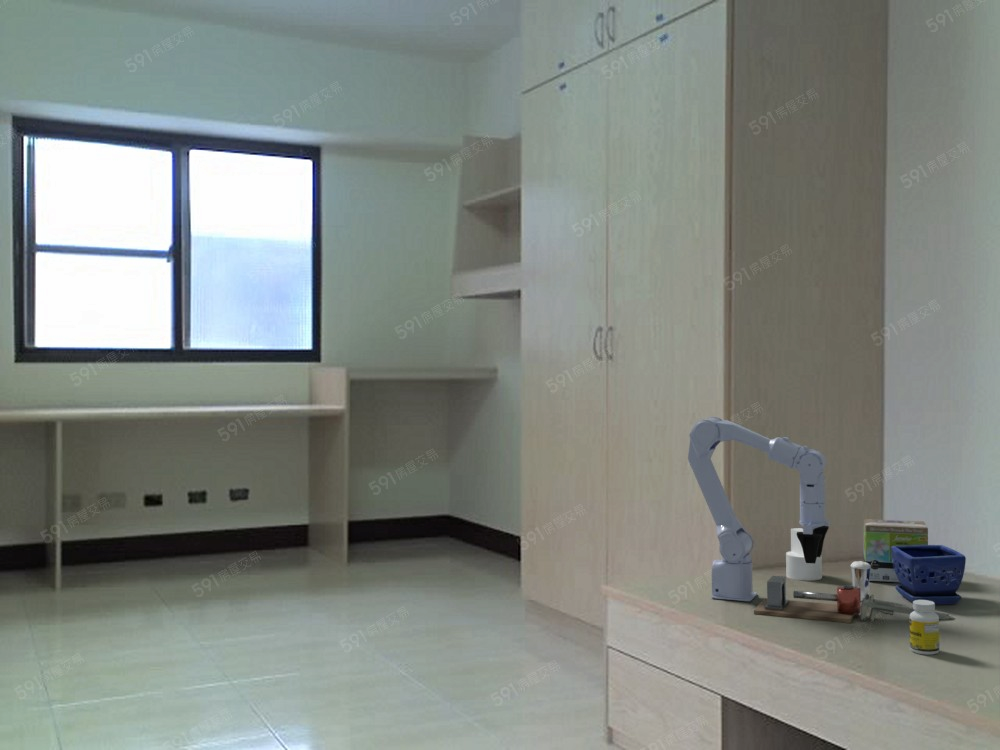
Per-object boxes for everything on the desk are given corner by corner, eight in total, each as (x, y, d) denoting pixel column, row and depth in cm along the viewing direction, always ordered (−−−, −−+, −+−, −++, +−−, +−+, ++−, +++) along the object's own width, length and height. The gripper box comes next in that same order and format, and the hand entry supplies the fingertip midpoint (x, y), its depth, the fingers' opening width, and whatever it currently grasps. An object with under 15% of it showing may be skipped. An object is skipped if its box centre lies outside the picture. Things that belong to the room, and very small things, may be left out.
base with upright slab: (780, 574, 273) (779, 529, 272) (811, 571, 274) (811, 527, 274) (796, 581, 264) (795, 535, 263) (828, 579, 265) (827, 533, 265)
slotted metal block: (764, 609, 234) (764, 582, 234) (771, 600, 241) (771, 574, 241) (782, 610, 232) (781, 583, 232) (789, 602, 239) (788, 576, 239)
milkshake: (876, 602, 241) (875, 560, 241) (852, 601, 242) (851, 559, 242) (873, 597, 245) (872, 556, 245) (849, 597, 246) (849, 555, 246)
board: (753, 613, 233) (753, 610, 233) (764, 601, 244) (764, 598, 244) (850, 622, 224) (850, 619, 224) (857, 609, 235) (857, 606, 235)
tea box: (865, 582, 261) (864, 524, 261) (863, 573, 271) (862, 518, 270) (928, 585, 257) (928, 526, 256) (924, 576, 266) (924, 519, 266)
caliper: (862, 623, 225) (862, 594, 225) (860, 621, 226) (860, 593, 226) (954, 620, 225) (954, 591, 225) (952, 618, 226) (952, 590, 226)
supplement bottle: (904, 647, 205) (904, 599, 205) (930, 646, 205) (930, 598, 205) (918, 656, 199) (917, 606, 199) (944, 654, 200) (944, 604, 200)
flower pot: (969, 606, 235) (968, 555, 235) (911, 608, 235) (910, 556, 235) (943, 592, 249) (943, 544, 248) (889, 594, 248) (888, 545, 248)
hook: (792, 608, 233) (791, 584, 233) (796, 603, 237) (795, 579, 237) (859, 614, 226) (858, 589, 226) (862, 609, 231) (861, 584, 231)
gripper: (825, 507, 232) (826, 567, 232) (834, 498, 245) (835, 554, 245) (793, 506, 235) (794, 564, 235) (804, 497, 248) (805, 552, 248)
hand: (813, 559), depth 241 cm, fingers open, 7 cm apart
